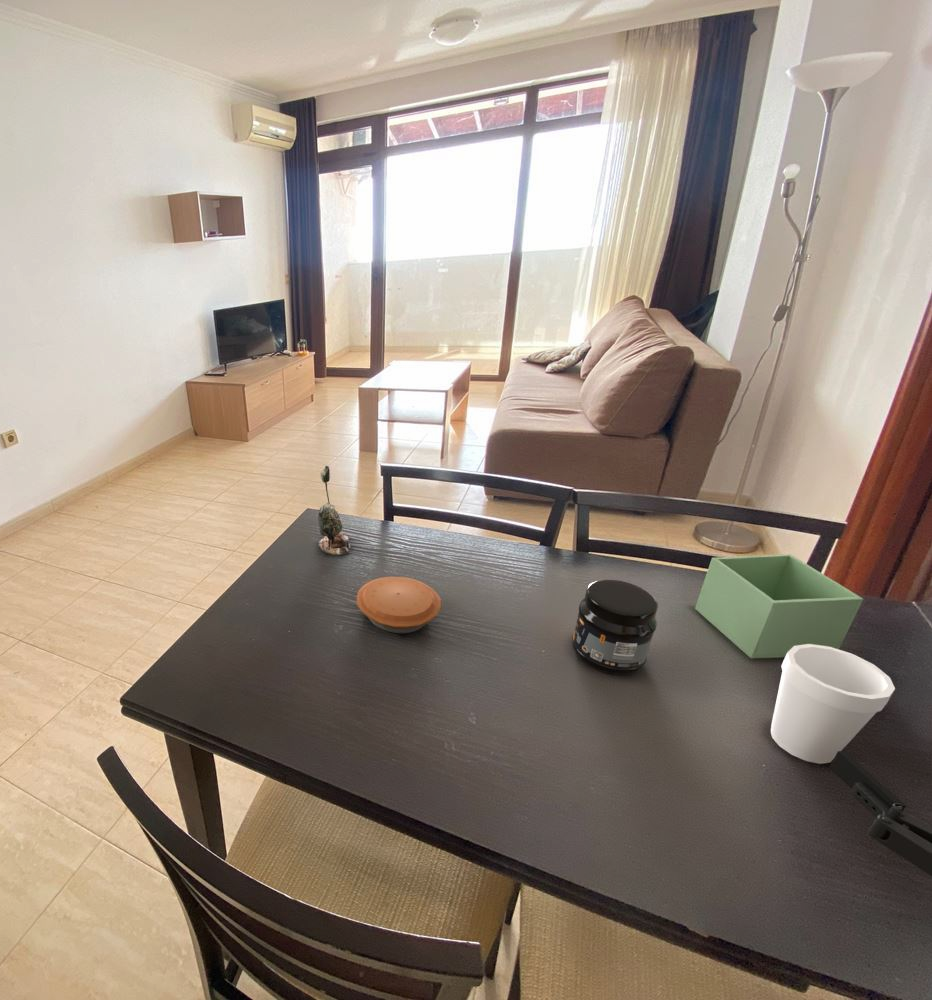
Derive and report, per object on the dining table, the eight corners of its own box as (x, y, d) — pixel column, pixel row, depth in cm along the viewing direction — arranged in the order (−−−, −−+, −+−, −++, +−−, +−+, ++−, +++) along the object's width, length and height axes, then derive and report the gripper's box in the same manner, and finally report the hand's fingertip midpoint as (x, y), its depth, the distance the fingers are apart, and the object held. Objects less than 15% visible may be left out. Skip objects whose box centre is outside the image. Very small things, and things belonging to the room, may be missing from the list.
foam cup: (773, 705, 78) (805, 634, 72) (862, 750, 71) (905, 675, 65) (743, 736, 74) (775, 664, 68) (834, 787, 66) (878, 711, 61)
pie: (369, 585, 112) (369, 564, 110) (446, 600, 106) (447, 579, 104) (346, 630, 100) (345, 608, 98) (431, 650, 93) (433, 627, 91)
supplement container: (597, 627, 96) (611, 570, 90) (659, 663, 87) (678, 602, 82) (556, 647, 92) (568, 589, 87) (616, 687, 83) (633, 625, 78)
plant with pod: (308, 557, 124) (304, 477, 115) (325, 534, 133) (323, 459, 124) (342, 563, 121) (340, 482, 112) (357, 539, 130) (357, 462, 121)
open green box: (769, 605, 97) (790, 553, 93) (836, 655, 86) (863, 599, 81) (694, 608, 98) (711, 557, 93) (750, 658, 86) (773, 602, 82)
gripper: (990, 1021, 43) (773, 782, 62) (1331, 1021, 42) (1002, 777, 61) (1041, 973, 40) (795, 737, 59) (1413, 970, 39) (1038, 730, 58)
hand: (900, 757), depth 60 cm, fingers open, 13 cm apart
